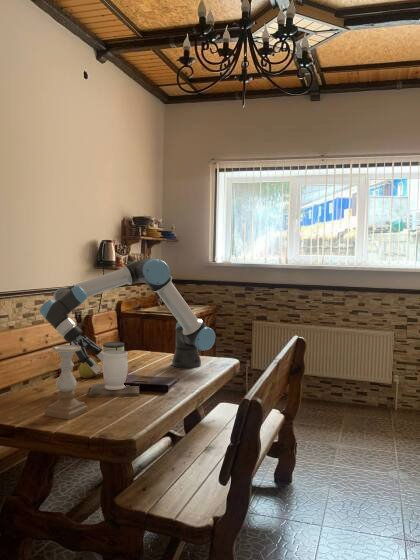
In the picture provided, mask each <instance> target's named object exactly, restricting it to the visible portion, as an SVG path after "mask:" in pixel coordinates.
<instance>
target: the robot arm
mask: <svg viewBox="0 0 420 560" xmlns="http://www.w3.org/2000/svg"><path fill="white" fill-rule="evenodd" d="M170 269H171V268H170V267H169V265H168V264H167V262H165V261H164V260H162V259H159V258H141V259H138V260H136V261H133V262H130V263H129V264H126V265H123V266H122V267H121V269H117V270H114V271H111V272H109V273H106V274H103V275H99V276H97V277H94V278H91V279H88V280H85V281H82V282H79V283H76V284H73V285H70V286H67V287H61V288H58V289H56V291H55V292H54V294H53V298H51V299H48V301H45V302H44V303H43V304H42V305H41V306H40V308H39V313H40V314H41V315H42V316H43V317H44V320H46V321H47V322H48V323H49V324H50V325H51V326H52V327H53V328H54V329H55V331H56V332H57V334H59V335H60V336H61V337H63V339H64V340H65V342H66V343H68V344H69V345H78V346H81V350H79V351H76V352H74V354H75V355H76V356H77V358H78V359H79V361H80V363H83V364H84V363H86V364H87V365H88V366H89V367H90V368H91V369H92V370H93V371H94V372H95V373H96V374H97V373H98V374H99V372H100V371H101V370H102V368H101V367H100V366H99V364H98V365H97V364H96V363H95V362H94V361H93V360H92V359H91V358H89V356H88V355H89V354H88V352H87V350H88V351H89V352H91V353H92V354H93V353H94V354H95V355H96V357H97V358H98V359H99V361H101V362H102V363H103V358H104V356H103V347H100V346H99V345H97V343H96V342H95V341H93V340H91V339H90V338H89V337H88V336H87V335H84V336H83V335H82V334H83V330H82V329H81V327H79V325H77V323H76V322H74V320H73V319H72V318H71V317H70V316H69V314H71V312H73V311H74V310H75V309H77V308H78V307H79V306H81V304H83V303H84V302H85V301H87V299H88V298H90V297H93V296H96V295H98V294H101V293H102V294H103V293H105V292H107V291H110V290H113V289H116V288H118V287H121V286H124V285H129V286H131V285H134V284H139V283H144V284H146V285H147V287H148V289H150V291H151V292H153V293H157V295H158V296H159V298H160V299H161V301H162V302H163V303H164V305H166V307H167V308H168V310H169V311H170V313H171V315H173V317H174V318H175V319H176V321H177V322H176V325H175V350H174V354H173V356H172V357H173V358H172V361H171V365H172V366H173V367H175V368H179V369H180V368H181V369H189V368H191V369H192V368H193V369H194V368H198V367H200V366H202V360H201V356H200V353H199V351H209V350H210V349H211V348H212V347H213V346H214V345H215V343H216V333H215V331H214V329H212V328H210V327H209V326H207V325H206V323H205V322H204V321H203V319H202V318H198V317H197V316H196V314H195V313H194V312H193V310H192V309H191V307H190V306H189V305H188V303H187V302H186V300H185V299H184V298H183V296H182V295H181V293H180V291H178V289H177V288H176V287H175V284H173V281H172V280H173V277H172V275H171V270H170ZM98 374H97V375H98Z"/></svg>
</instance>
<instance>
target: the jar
mask: <svg viewBox="0 0 420 560" xmlns="http://www.w3.org/2000/svg"><path fill="white" fill-rule="evenodd" d="M102 352H103V351H102ZM128 355H129V351H127V350H124V351H118V350H115V351H106V352H103V356H104V358H103V362H102V366H101V367H102V368H101V370H102V375H103V381H104V382H105V383H104V384H106V385H105V388H106V389H108V390H120V389H124V388H125V385H124V383H126V380H127V376H128V371H129V360H128Z"/></svg>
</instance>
